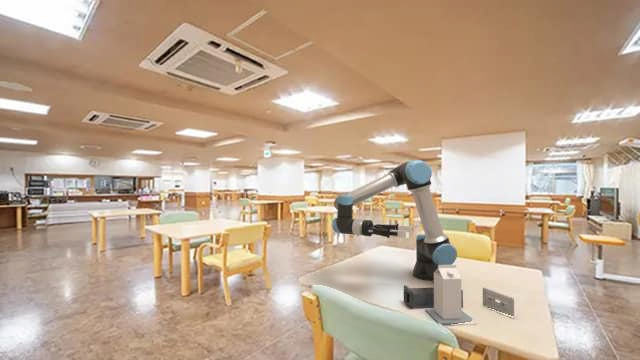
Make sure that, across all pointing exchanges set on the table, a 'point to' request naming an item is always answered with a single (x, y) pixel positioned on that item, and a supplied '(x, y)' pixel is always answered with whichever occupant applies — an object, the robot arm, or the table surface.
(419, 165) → the robot arm
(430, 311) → the slate mat
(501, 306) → the cassette
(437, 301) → the milk carton
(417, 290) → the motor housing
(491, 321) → the table surface
